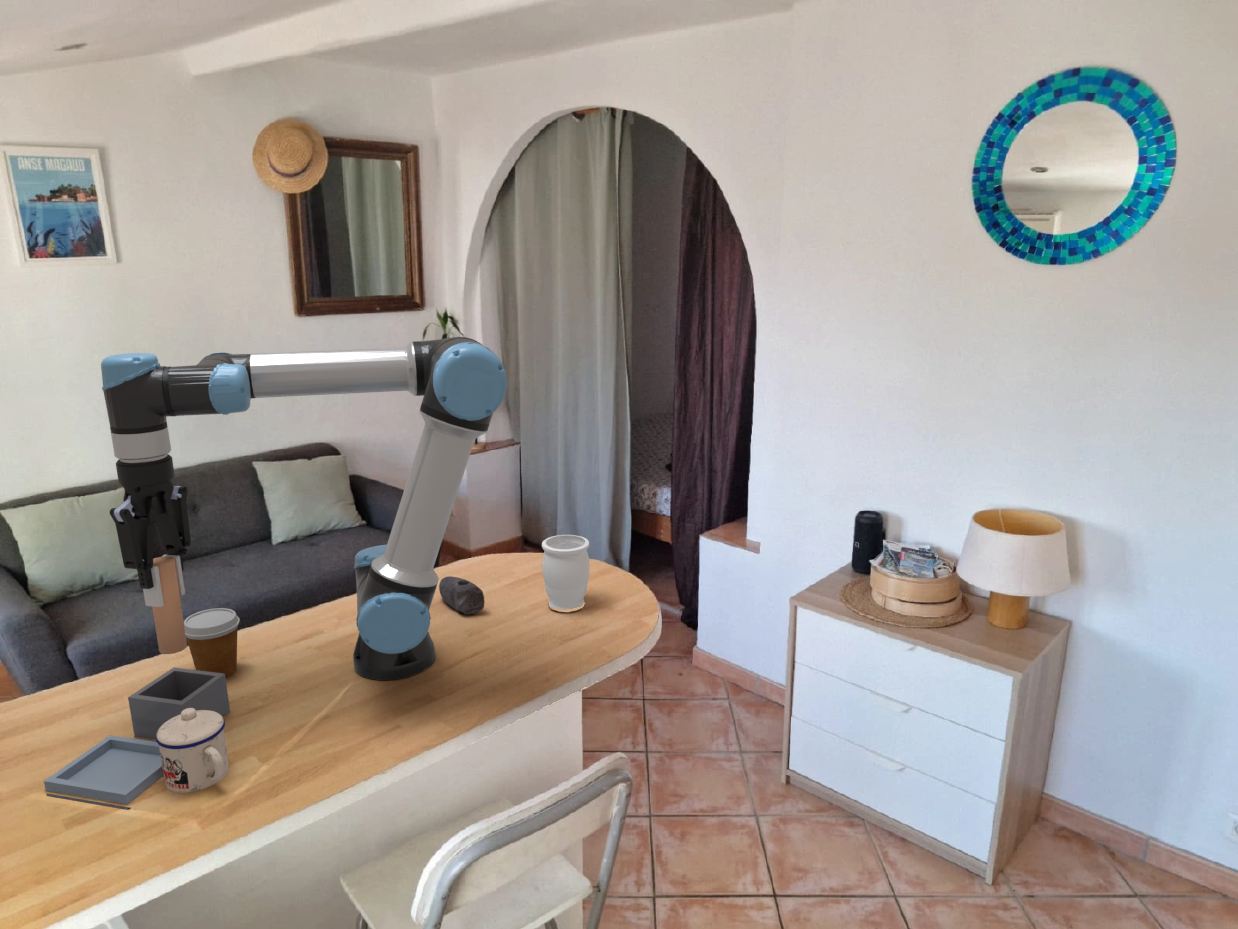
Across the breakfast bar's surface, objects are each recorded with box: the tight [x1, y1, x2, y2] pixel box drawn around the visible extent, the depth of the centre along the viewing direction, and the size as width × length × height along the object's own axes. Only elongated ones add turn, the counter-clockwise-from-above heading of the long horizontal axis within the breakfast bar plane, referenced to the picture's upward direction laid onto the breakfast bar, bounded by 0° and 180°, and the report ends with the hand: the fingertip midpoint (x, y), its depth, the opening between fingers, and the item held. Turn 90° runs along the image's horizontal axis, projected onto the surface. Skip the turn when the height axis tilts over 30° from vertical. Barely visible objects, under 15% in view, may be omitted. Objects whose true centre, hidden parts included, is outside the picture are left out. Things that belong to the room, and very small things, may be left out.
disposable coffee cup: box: [183, 607, 241, 679], centre depth 153 cm, size 10×10×12 cm
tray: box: [43, 734, 164, 811], centre depth 125 cm, size 14×12×2 cm
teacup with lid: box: [155, 708, 230, 793], centre depth 122 cm, size 12×9×12 cm
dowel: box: [151, 556, 188, 655], centre depth 132 cm, size 4×4×15 cm
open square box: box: [127, 667, 231, 741], centre depth 137 cm, size 10×10×8 cm
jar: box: [541, 534, 590, 610], centre depth 183 cm, size 11×10×15 cm
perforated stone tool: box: [438, 575, 485, 615], centre depth 183 cm, size 15×5×7 cm, turn 41°
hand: (165, 599), depth 132 cm, fingers closed on dowel, 4 cm apart
